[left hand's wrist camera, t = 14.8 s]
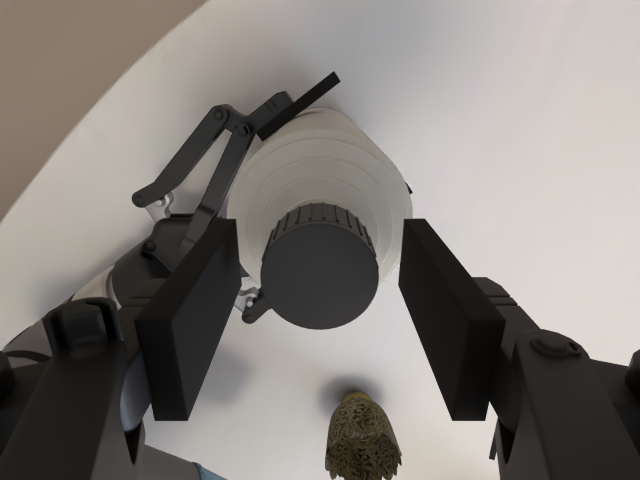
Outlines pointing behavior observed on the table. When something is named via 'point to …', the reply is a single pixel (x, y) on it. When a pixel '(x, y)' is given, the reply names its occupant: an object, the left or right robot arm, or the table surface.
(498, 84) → the table surface
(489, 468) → the table surface
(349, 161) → the bottle
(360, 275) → the cap
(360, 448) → the cup
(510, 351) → the left robot arm
